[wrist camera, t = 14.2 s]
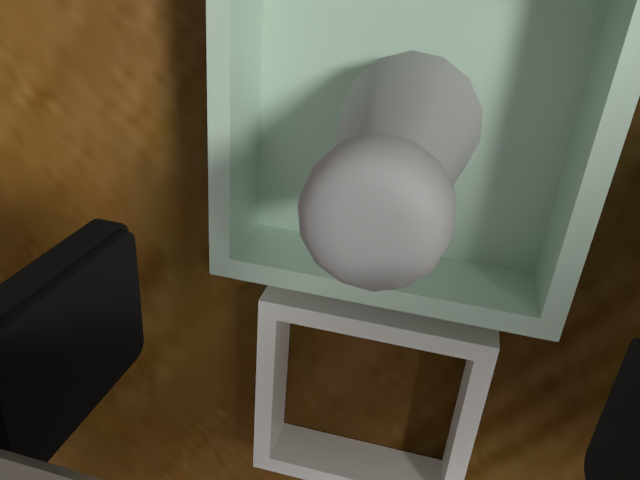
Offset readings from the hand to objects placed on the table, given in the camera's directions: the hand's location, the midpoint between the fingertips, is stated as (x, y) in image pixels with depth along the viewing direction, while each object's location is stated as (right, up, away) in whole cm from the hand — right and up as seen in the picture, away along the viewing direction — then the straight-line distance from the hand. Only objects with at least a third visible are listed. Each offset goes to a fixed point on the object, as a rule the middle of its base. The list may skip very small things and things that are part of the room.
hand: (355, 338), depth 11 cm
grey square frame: (+2, -6, +23) cm, 24 cm away
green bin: (+3, +8, +16) cm, 18 cm away
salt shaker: (+4, +8, +16) cm, 18 cm away
